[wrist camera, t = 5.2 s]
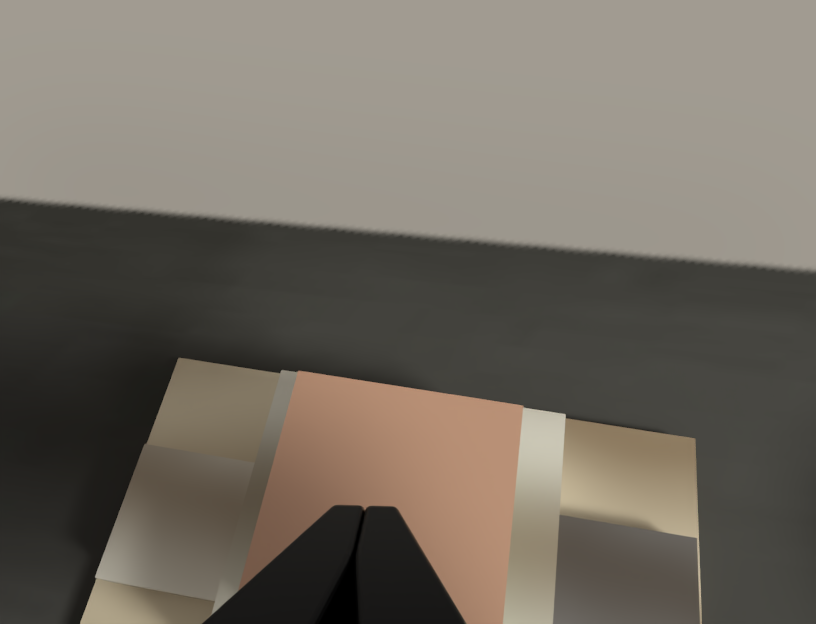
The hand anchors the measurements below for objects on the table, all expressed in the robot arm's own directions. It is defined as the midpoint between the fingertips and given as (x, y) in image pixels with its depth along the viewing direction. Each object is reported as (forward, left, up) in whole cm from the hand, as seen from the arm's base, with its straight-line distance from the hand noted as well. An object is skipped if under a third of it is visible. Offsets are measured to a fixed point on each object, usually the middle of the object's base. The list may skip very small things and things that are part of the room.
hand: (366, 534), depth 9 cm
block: (+1, +1, -11) cm, 11 cm away
